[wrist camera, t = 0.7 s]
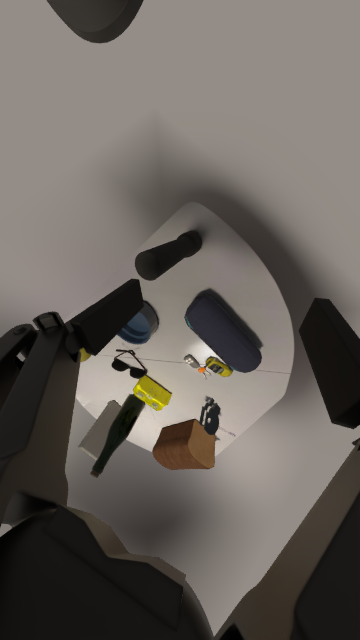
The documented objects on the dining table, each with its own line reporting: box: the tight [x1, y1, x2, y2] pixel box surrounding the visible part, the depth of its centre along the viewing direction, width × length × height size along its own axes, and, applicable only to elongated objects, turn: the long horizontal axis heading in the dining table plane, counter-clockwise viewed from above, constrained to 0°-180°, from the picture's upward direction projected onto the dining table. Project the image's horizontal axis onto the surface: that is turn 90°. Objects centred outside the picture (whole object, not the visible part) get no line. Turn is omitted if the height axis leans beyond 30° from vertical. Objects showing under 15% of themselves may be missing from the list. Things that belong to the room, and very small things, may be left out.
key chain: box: [184, 355, 211, 379], centre depth 62 cm, size 13×4×2 cm, turn 47°
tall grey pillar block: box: [78, 401, 121, 461], centre depth 92 cm, size 14×6×25 cm, turn 39°
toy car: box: [204, 357, 233, 377], centre depth 58 cm, size 5×10×3 cm, turn 62°
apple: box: [80, 348, 91, 362], centre depth 74 cm, size 8×8×10 cm
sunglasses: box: [112, 349, 147, 379], centre depth 69 cm, size 17×14×5 cm
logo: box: [199, 398, 235, 437], centre depth 69 cm, size 17×18×11 cm
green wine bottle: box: [90, 395, 144, 478], centre depth 77 cm, size 10×10×33 cm
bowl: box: [117, 302, 158, 344], centre depth 56 cm, size 15×15×6 cm
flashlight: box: [135, 231, 202, 281], centre depth 31 cm, size 5×24×5 cm
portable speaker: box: [184, 294, 262, 373], centre depth 46 cm, size 25×10×10 cm, turn 47°
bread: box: [152, 419, 216, 470], centre depth 85 cm, size 18×30×16 cm, turn 139°
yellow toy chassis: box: [133, 375, 171, 411], centre depth 74 cm, size 16×6×8 cm, turn 54°
